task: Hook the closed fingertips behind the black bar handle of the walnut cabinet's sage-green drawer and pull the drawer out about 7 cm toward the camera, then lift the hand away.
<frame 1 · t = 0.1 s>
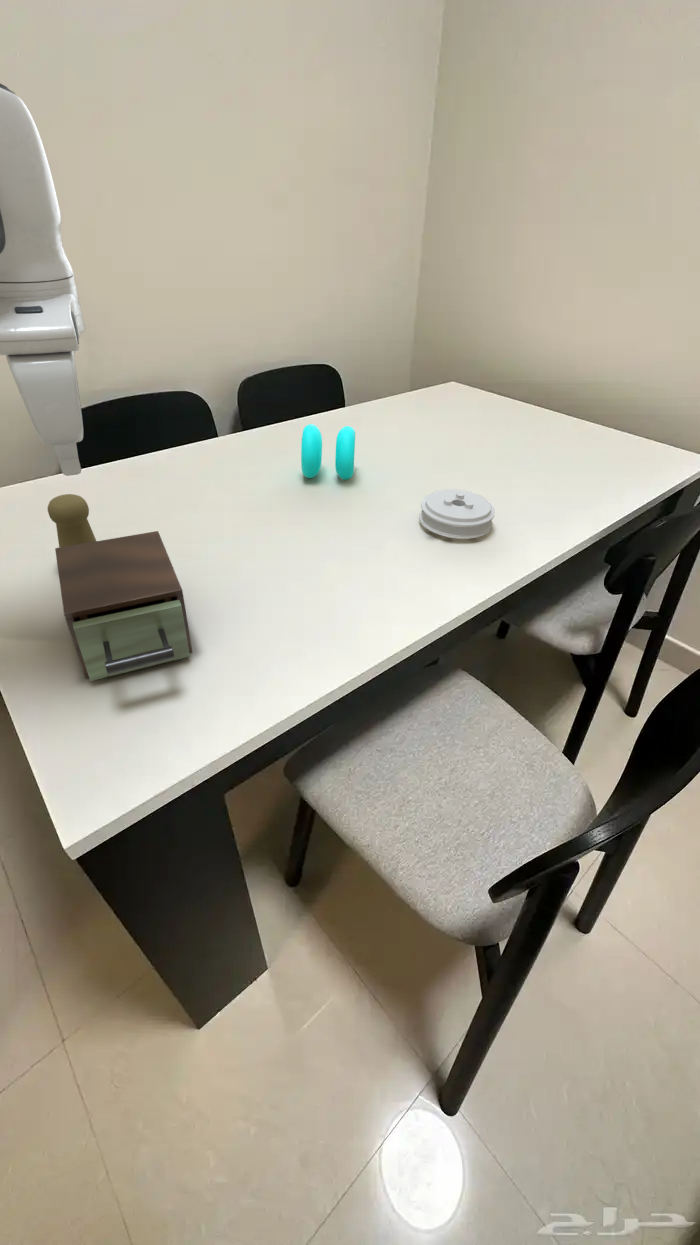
hand: (68, 455, 62), 23 cm above the table, tool pointing down, fingers open, 8 cm apart
white grooved pulley wheel: (454, 526, 102), on the table
drawer: (129, 621, 69), point 5 cm above the table, slide at 0.5 cm
cabinet: (131, 630, 75), on the table
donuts: (328, 477, 115), on the table
cork: (84, 567, 87), on the table
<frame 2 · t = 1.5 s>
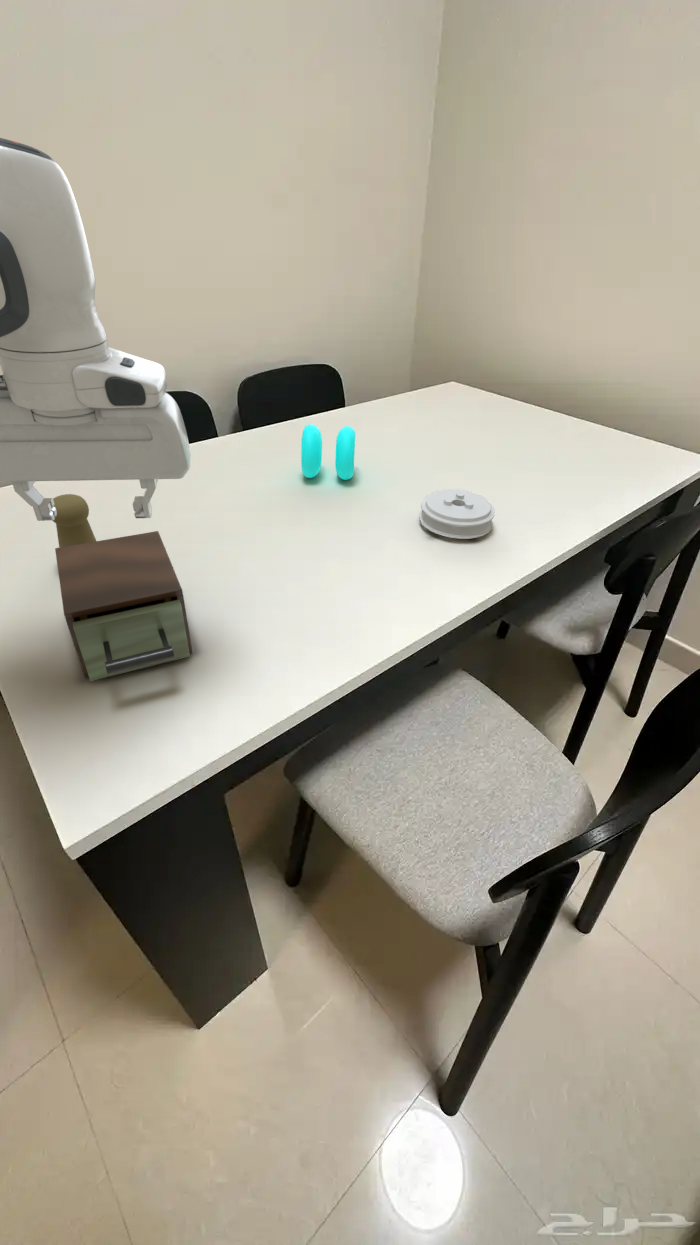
hand: (96, 517, 60), 19 cm above the table, tool pointing down, fingers open, 8 cm apart
nothing on the table moved.
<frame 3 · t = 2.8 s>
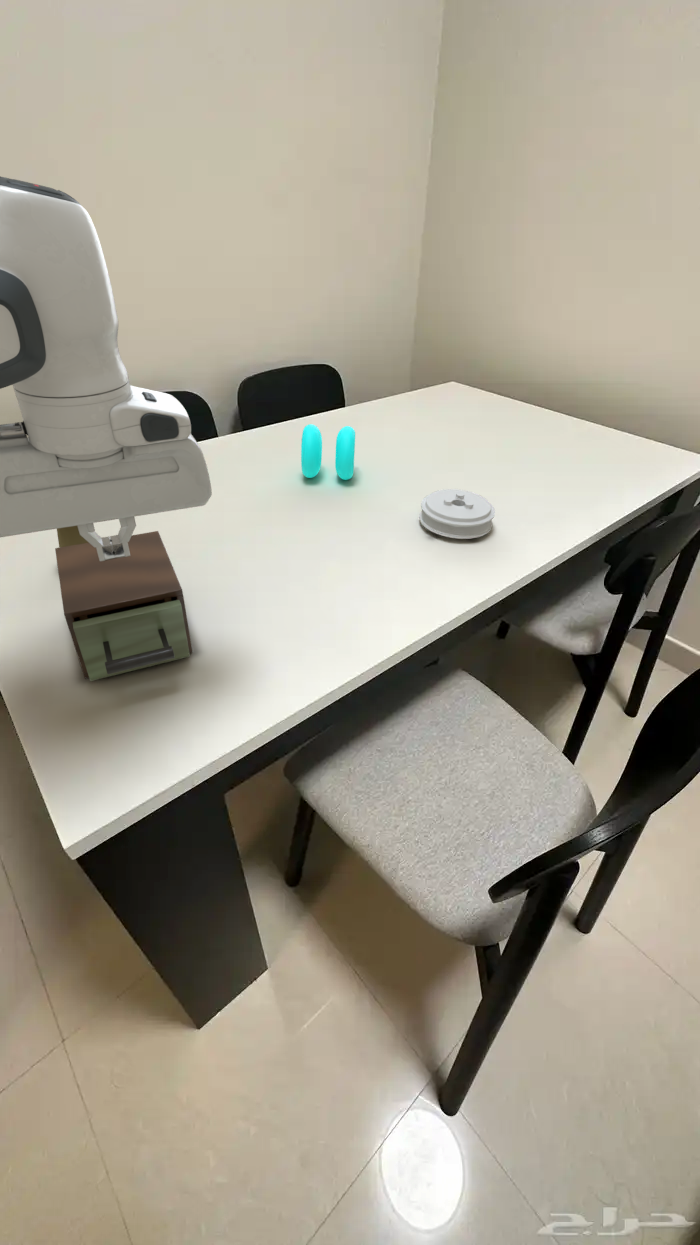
hand: (114, 556, 58), 17 cm above the table, tool pointing down, fingers closed
nothing on the table moved.
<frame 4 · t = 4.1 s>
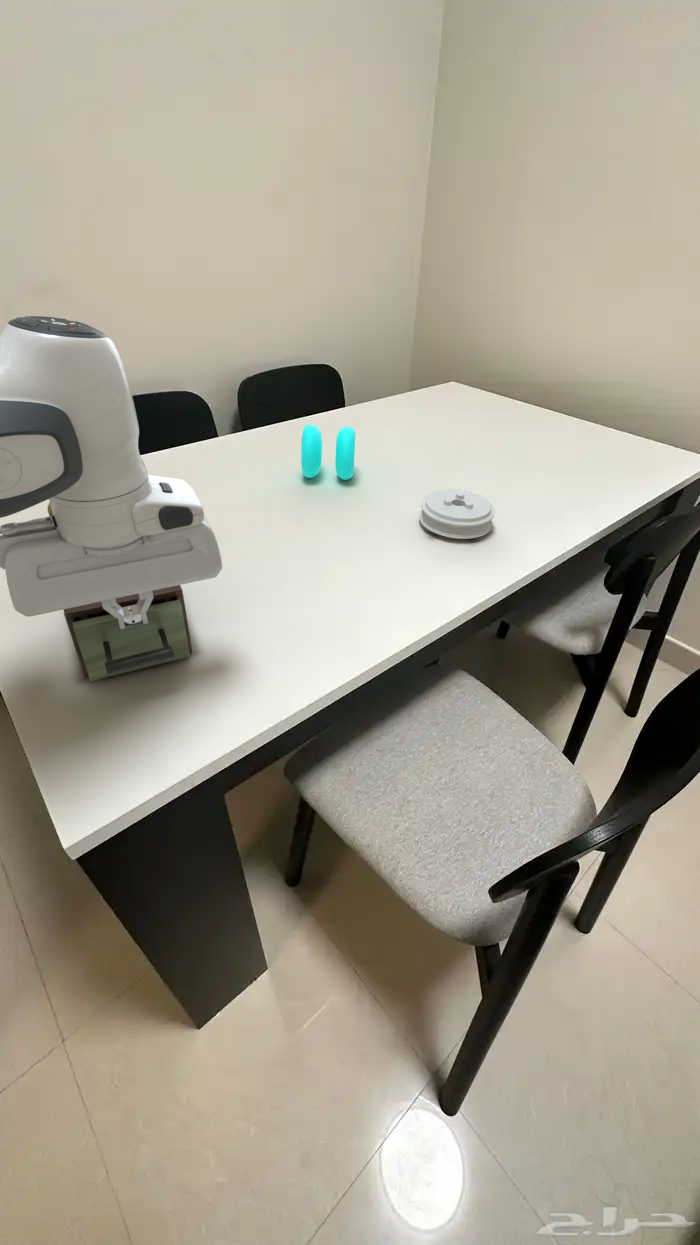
hand: (133, 623, 63), 9 cm above the table, tool pointing down, fingers closed
nothing on the table moved.
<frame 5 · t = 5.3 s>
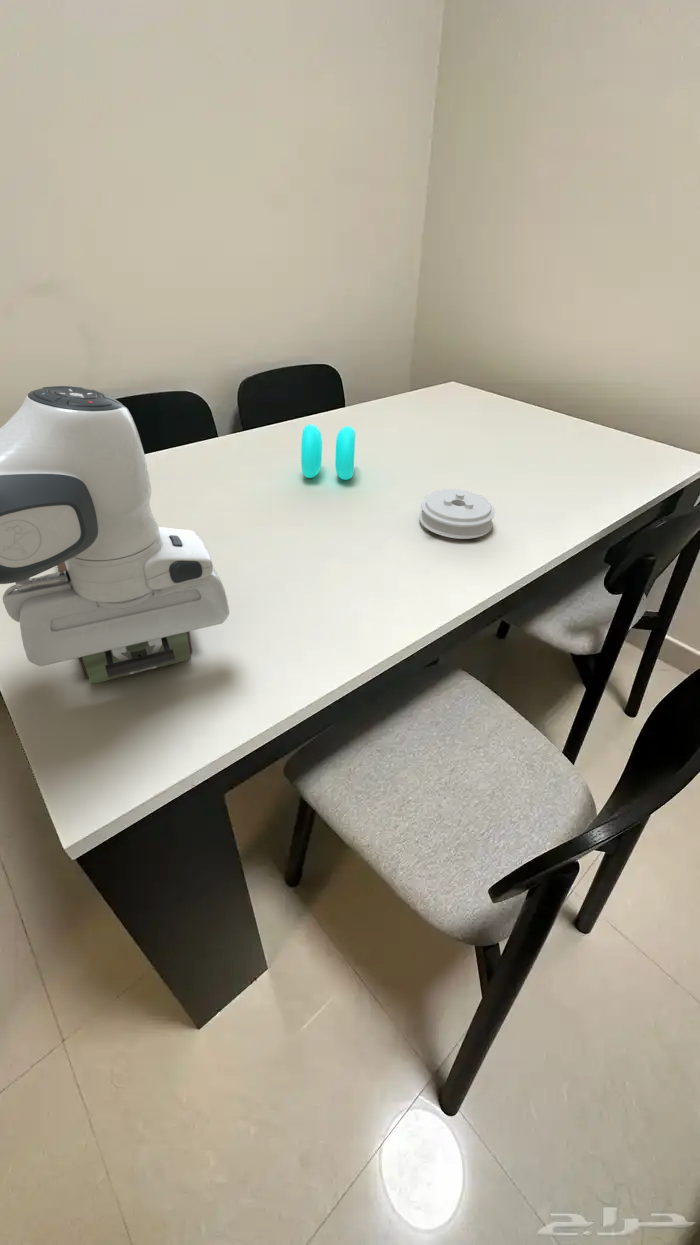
hand: (142, 667, 65), 4 cm above the table, tool pointing down, fingers closed
drawer: (130, 624, 69), point 5 cm above the table, slide at 1.0 cm
everything else where it was.
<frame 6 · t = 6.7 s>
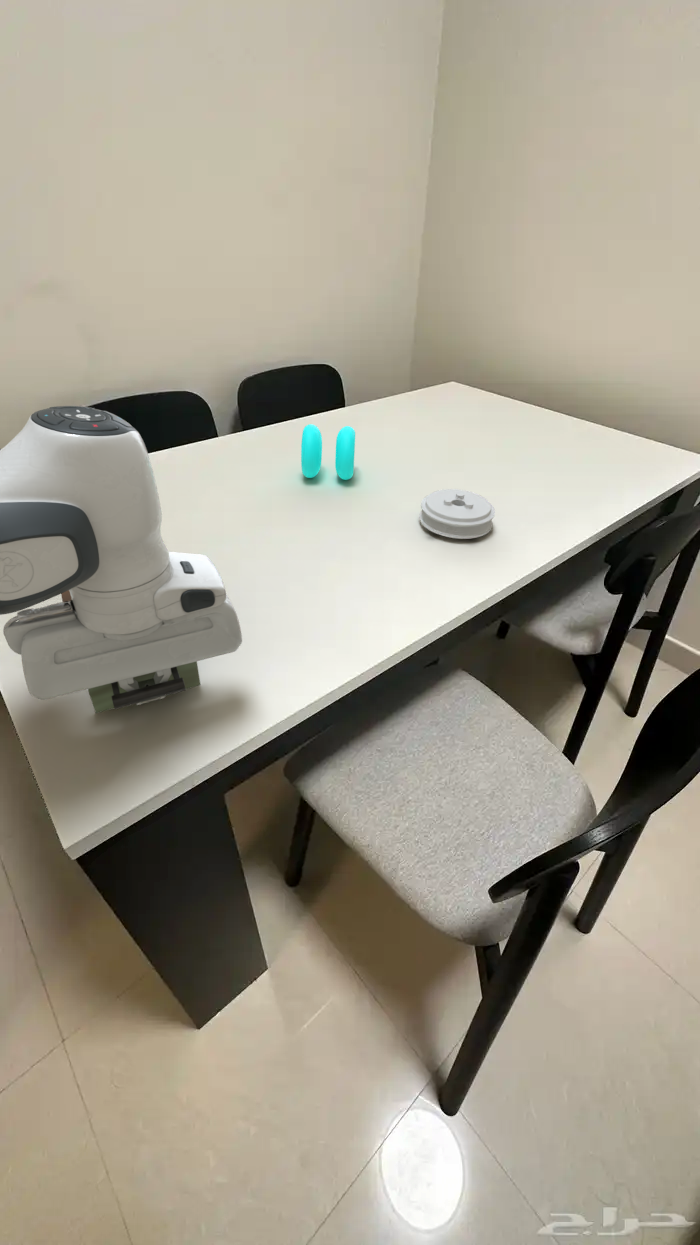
hand: (150, 697, 61), 4 cm above the table, tool pointing down, fingers closed, pressing on drawer
drawer: (137, 649, 65), point 5 cm above the table, slide at 5.9 cm, touching gripper
everything else where it was.
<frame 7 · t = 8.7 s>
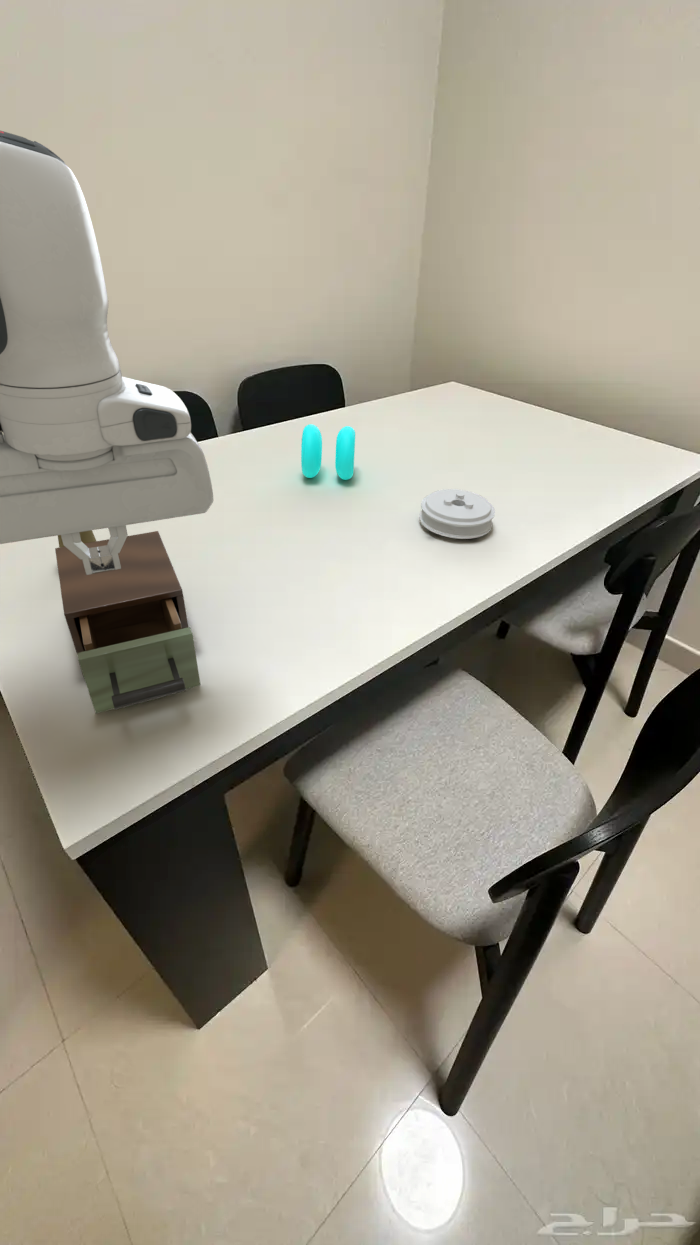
hand: (103, 568, 52), 20 cm above the table, tool pointing down, fingers closed
drawer: (137, 649, 65), point 5 cm above the table, slide at 5.9 cm
everything else where it was.
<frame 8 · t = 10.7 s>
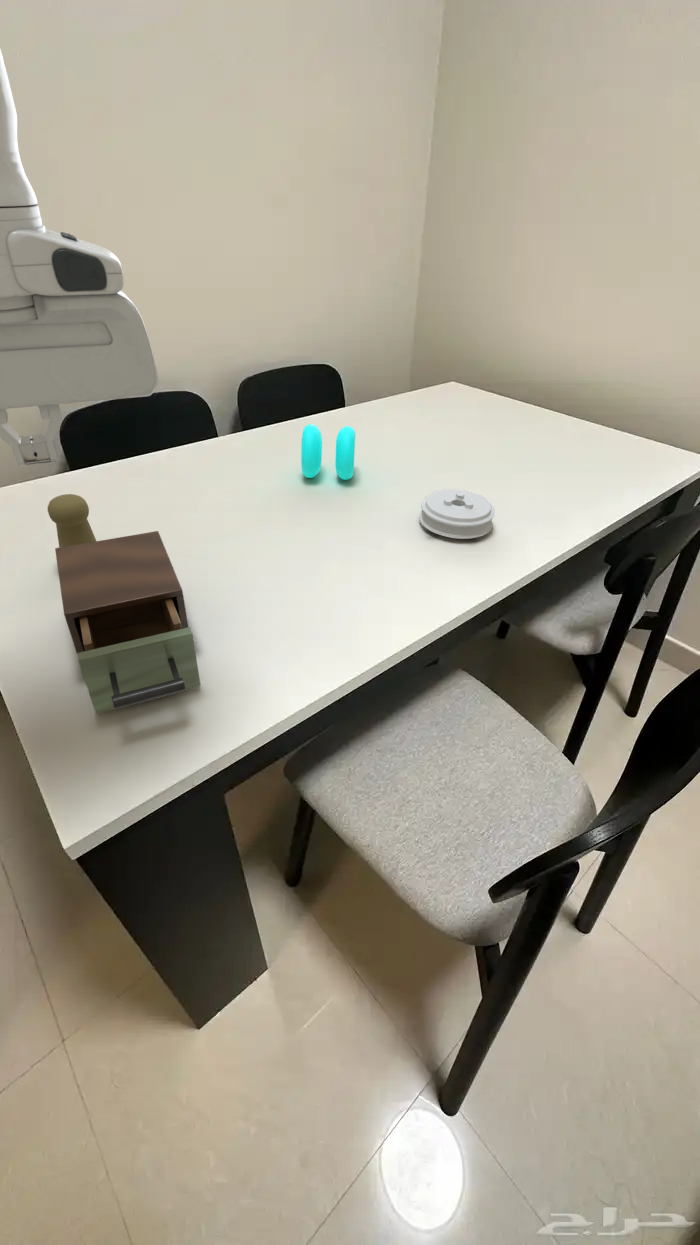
hand: (38, 461, 46), 29 cm above the table, tool pointing down, fingers closed
nothing on the table moved.
at the end: drawer slide at 5.9 cm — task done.
